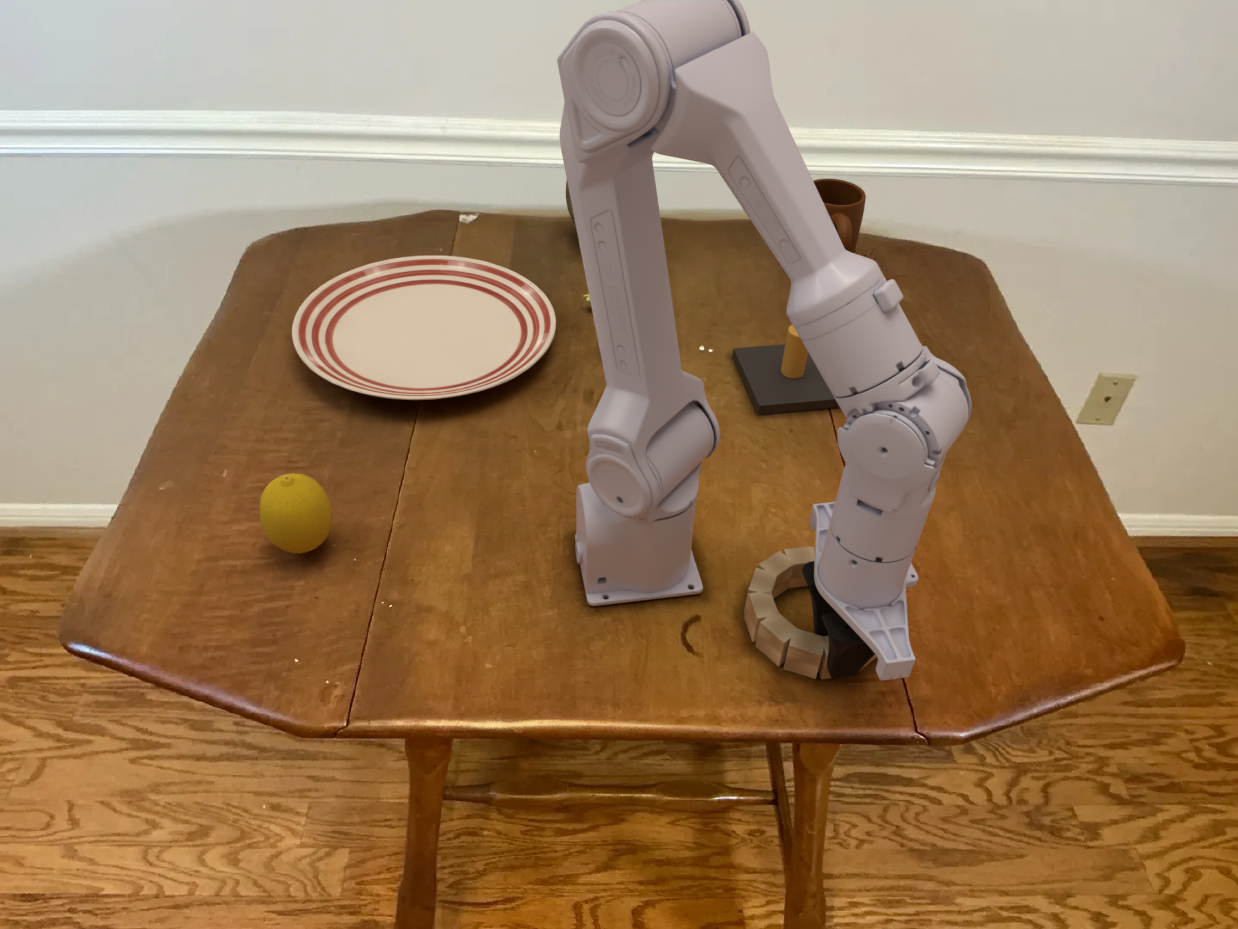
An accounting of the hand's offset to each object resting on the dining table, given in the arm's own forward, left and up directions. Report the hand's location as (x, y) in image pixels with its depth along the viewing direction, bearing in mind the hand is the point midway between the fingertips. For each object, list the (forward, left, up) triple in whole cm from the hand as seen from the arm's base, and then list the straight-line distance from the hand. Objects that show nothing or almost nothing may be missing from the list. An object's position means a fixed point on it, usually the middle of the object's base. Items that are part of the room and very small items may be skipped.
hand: (835, 657), depth 71 cm
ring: (0, +4, -1) cm, 5 cm away
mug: (+19, +56, -2) cm, 60 cm away
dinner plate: (-29, +47, -2) cm, 56 cm away
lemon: (-40, +18, -2) cm, 44 cm away
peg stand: (+8, +35, -1) cm, 36 cm away
